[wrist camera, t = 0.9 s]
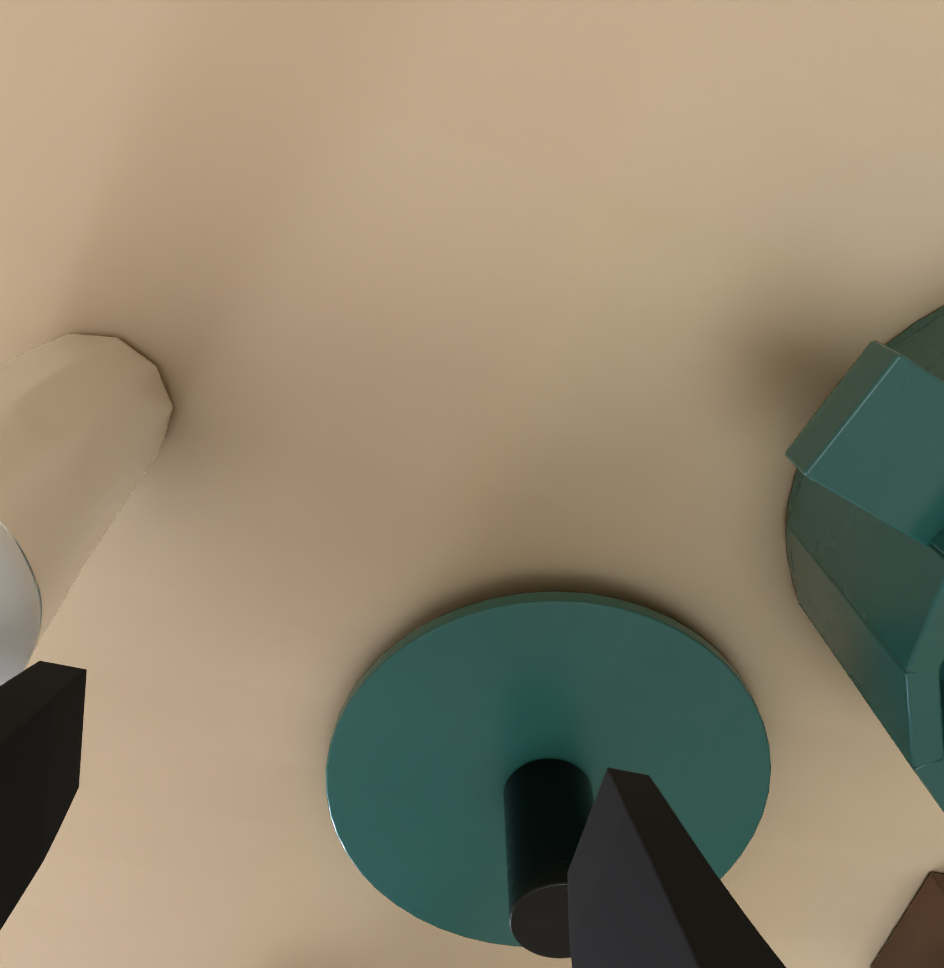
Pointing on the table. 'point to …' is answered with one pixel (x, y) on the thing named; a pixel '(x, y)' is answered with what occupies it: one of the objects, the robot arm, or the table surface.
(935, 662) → the tin
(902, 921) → the block
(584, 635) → the lid
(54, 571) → the milkshake
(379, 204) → the table surface
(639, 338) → the table surface
